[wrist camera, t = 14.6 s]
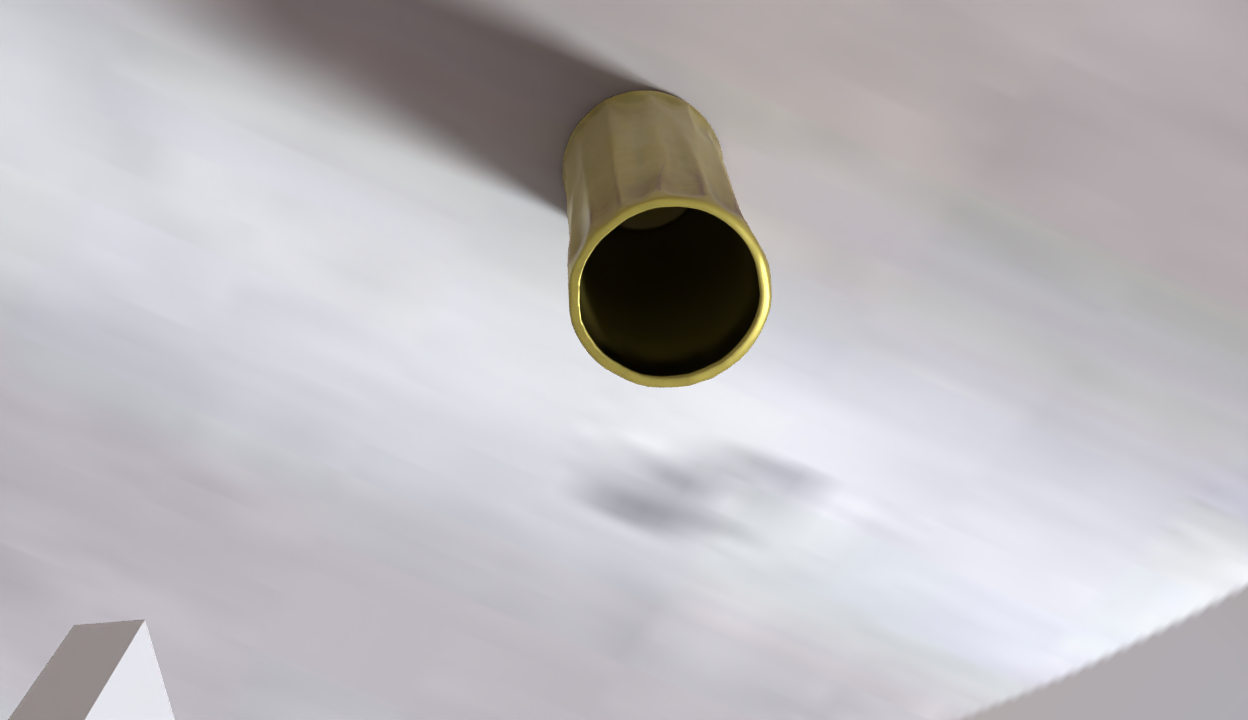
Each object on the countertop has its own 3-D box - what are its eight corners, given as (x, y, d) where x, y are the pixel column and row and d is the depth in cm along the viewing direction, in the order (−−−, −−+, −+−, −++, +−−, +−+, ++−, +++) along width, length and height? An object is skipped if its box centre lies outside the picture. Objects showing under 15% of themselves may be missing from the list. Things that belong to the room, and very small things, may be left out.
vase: (532, 195, 39) (505, 333, 26) (618, 56, 37) (635, 128, 24) (664, 275, 41) (701, 444, 28) (753, 145, 39) (839, 260, 26)
